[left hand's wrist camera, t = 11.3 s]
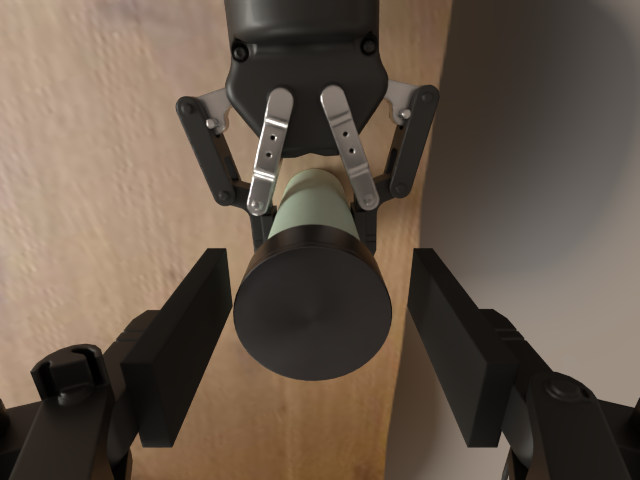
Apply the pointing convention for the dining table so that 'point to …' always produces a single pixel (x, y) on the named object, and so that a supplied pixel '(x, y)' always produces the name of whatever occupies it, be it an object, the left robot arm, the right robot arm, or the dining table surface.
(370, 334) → the lid
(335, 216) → the jar
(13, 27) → the dining table surface
